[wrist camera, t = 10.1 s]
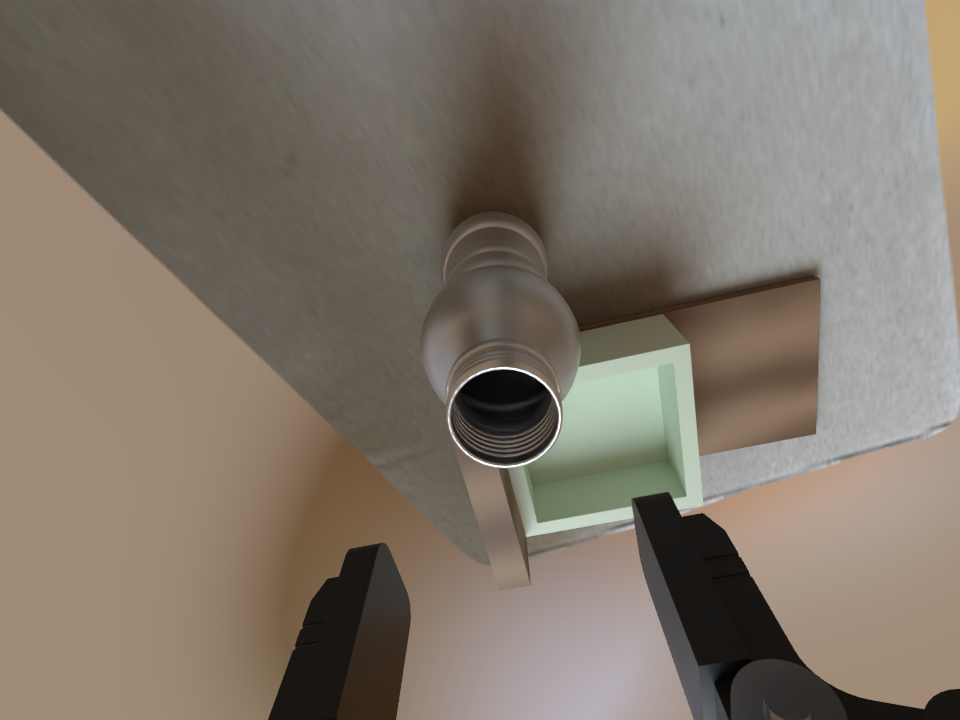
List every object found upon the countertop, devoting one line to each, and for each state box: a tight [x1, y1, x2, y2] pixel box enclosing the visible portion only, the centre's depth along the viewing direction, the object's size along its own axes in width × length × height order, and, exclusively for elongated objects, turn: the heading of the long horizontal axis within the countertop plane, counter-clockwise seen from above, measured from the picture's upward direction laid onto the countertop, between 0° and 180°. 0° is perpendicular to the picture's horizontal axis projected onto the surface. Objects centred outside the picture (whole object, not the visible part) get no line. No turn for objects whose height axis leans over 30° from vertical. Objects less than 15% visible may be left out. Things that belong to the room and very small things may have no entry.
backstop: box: [450, 276, 820, 590], centre depth 34 cm, size 12×24×10 cm, turn 104°
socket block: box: [508, 314, 703, 537], centre depth 35 cm, size 12×12×5 cm
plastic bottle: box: [420, 211, 581, 468], centre depth 25 cm, size 6×7×20 cm
